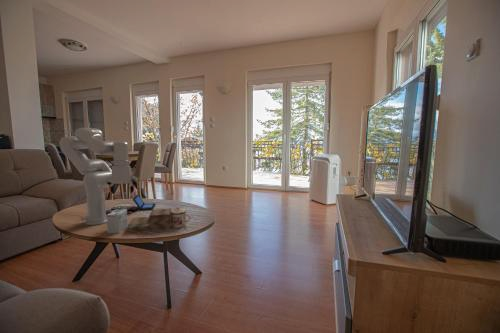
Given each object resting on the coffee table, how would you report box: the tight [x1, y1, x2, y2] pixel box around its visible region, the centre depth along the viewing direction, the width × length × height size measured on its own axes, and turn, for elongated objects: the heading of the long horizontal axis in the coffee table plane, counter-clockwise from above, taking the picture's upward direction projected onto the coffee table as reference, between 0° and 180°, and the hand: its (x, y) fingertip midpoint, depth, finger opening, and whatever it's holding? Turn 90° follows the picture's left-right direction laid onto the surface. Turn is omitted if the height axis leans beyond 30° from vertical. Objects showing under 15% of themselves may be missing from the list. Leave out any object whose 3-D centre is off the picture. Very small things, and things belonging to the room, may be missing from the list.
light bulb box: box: [106, 208, 129, 234], centre depth 135 cm, size 11×7×11 cm, turn 4°
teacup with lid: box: [171, 205, 191, 229], centre depth 143 cm, size 12×9×12 cm
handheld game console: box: [132, 194, 156, 211], centre depth 180 cm, size 16×13×9 cm
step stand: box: [128, 207, 172, 236], centre depth 138 cm, size 22×17×9 cm
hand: (122, 192), depth 136 cm, fingers open, 9 cm apart
